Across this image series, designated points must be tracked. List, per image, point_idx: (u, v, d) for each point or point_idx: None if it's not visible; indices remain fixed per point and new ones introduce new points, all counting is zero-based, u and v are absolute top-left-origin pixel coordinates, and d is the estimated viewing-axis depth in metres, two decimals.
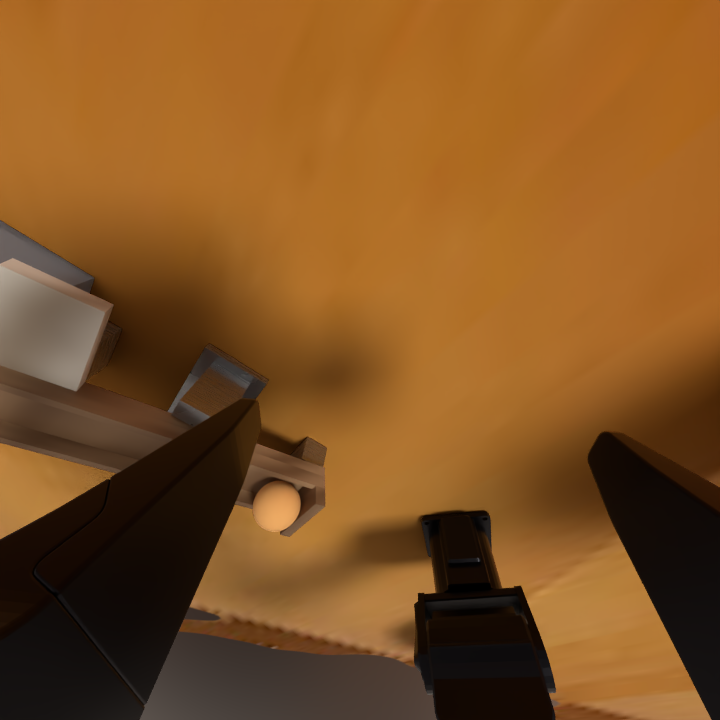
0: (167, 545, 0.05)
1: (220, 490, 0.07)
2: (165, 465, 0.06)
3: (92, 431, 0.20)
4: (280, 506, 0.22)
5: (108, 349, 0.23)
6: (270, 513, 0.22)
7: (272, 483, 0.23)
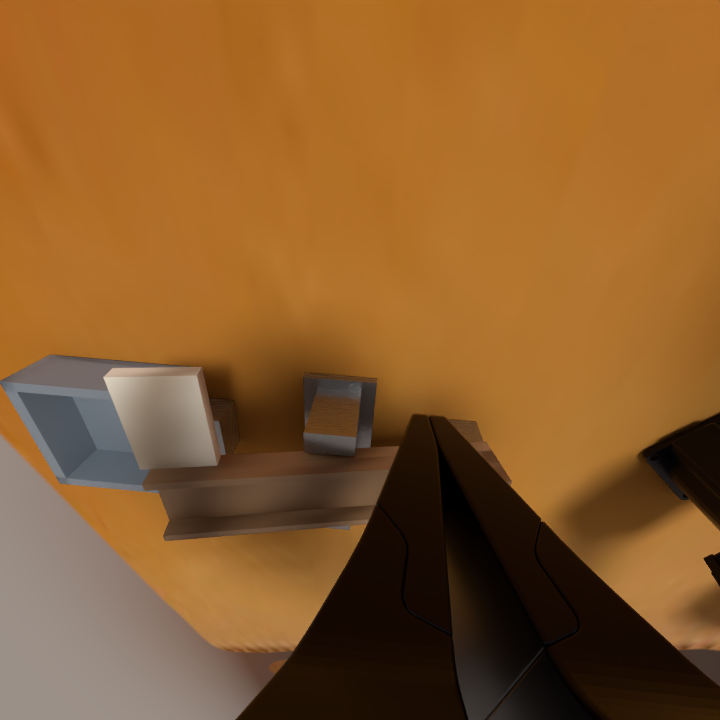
0: None
1: None
2: (417, 489, 0.06)
3: (249, 499, 0.20)
4: None
5: (232, 423, 0.24)
6: None
7: None
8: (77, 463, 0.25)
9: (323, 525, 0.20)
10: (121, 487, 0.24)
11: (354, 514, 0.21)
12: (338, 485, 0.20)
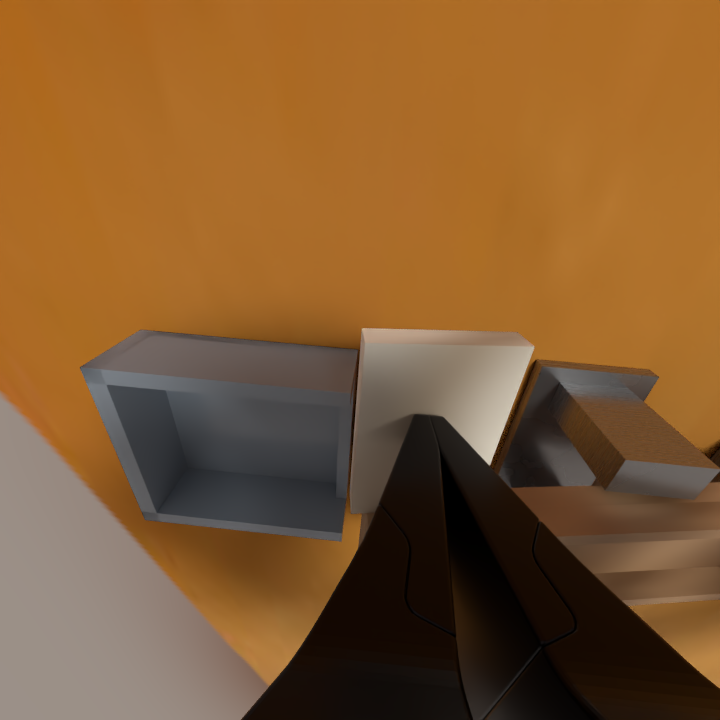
0: None
1: None
2: (419, 489, 0.06)
3: None
4: None
5: None
6: None
7: None
8: (168, 489, 0.17)
9: None
10: (236, 527, 0.17)
11: (638, 586, 0.13)
12: (629, 542, 0.12)
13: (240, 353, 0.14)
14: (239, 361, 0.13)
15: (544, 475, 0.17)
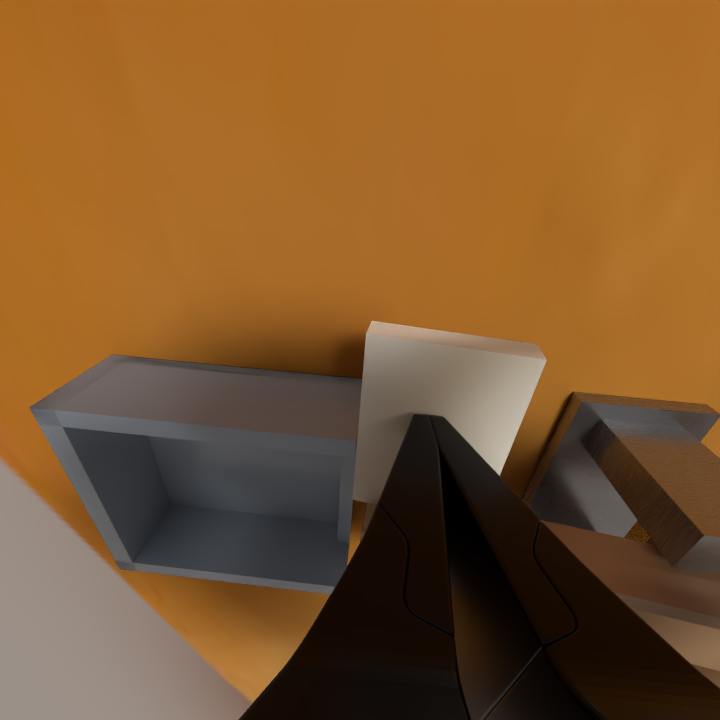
0: None
1: None
2: (418, 489, 0.06)
3: None
4: None
5: None
6: None
7: None
8: (146, 533, 0.15)
9: None
10: (224, 578, 0.15)
11: None
12: (685, 624, 0.10)
13: (225, 385, 0.12)
14: (223, 396, 0.11)
15: (576, 519, 0.15)
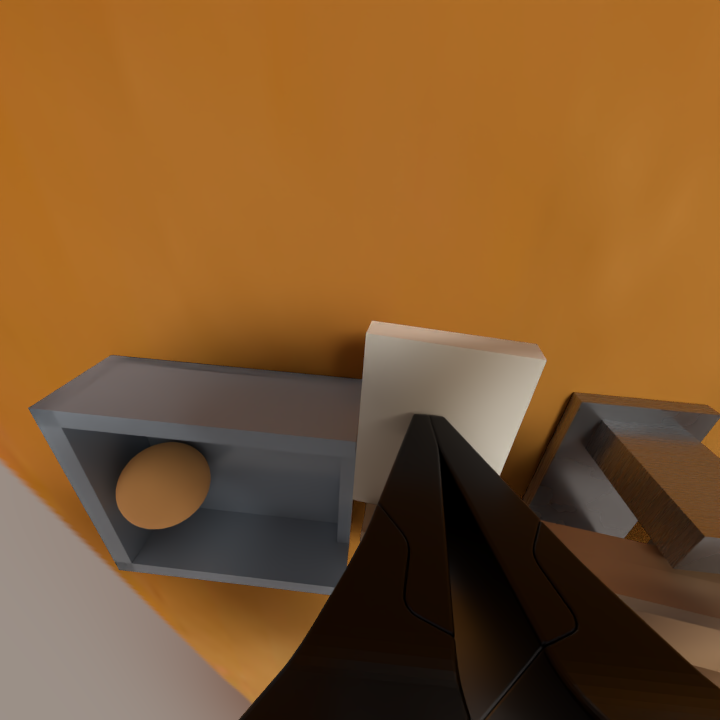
0: None
1: None
2: (418, 489, 0.06)
3: None
4: (179, 445, 0.14)
5: None
6: (195, 449, 0.14)
7: (173, 488, 0.12)
8: (146, 534, 0.15)
9: None
10: (223, 579, 0.15)
11: None
12: (685, 625, 0.10)
13: (225, 386, 0.12)
14: (223, 397, 0.11)
15: (576, 519, 0.15)
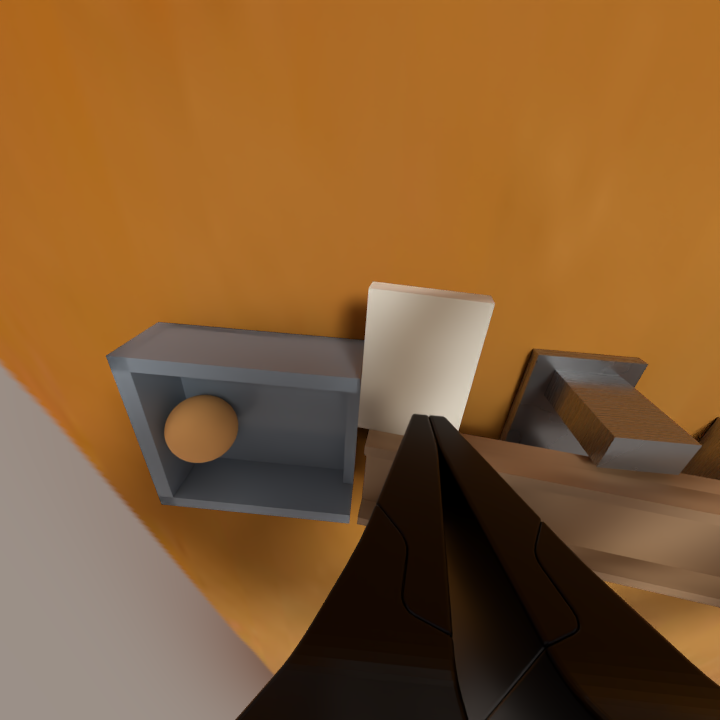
0: None
1: None
2: (417, 489, 0.06)
3: None
4: (213, 396, 0.17)
5: None
6: (225, 401, 0.17)
7: (212, 427, 0.15)
8: (183, 475, 0.18)
9: None
10: (249, 510, 0.18)
11: (623, 567, 0.14)
12: (612, 518, 0.13)
13: (254, 343, 0.15)
14: (254, 350, 0.14)
15: None
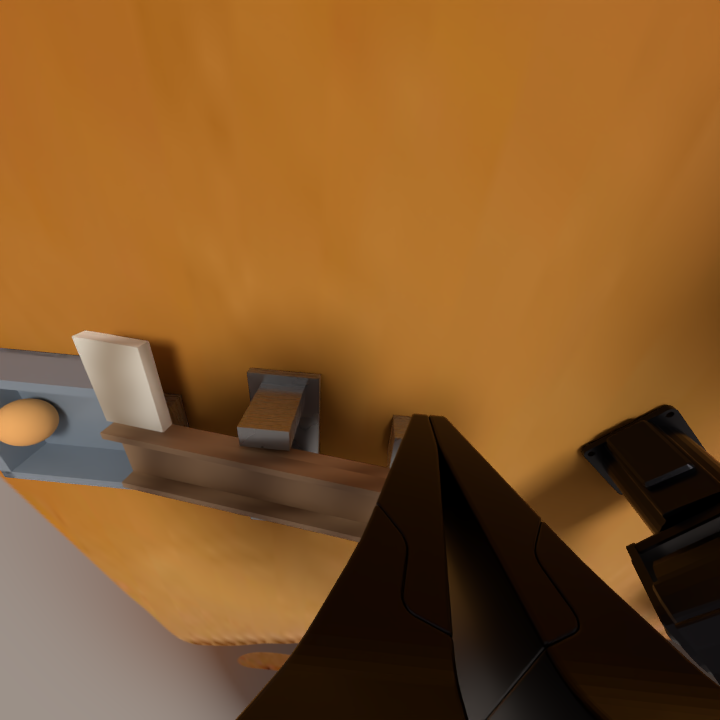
0: None
1: None
2: (417, 489, 0.06)
3: (192, 470, 0.21)
4: (35, 399, 0.23)
5: (180, 418, 0.24)
6: (47, 402, 0.24)
7: (24, 421, 0.22)
8: (23, 456, 0.25)
9: (251, 514, 0.21)
10: (67, 481, 0.24)
11: (283, 513, 0.21)
12: (269, 480, 0.20)
13: (49, 364, 0.22)
14: (44, 369, 0.21)
15: None
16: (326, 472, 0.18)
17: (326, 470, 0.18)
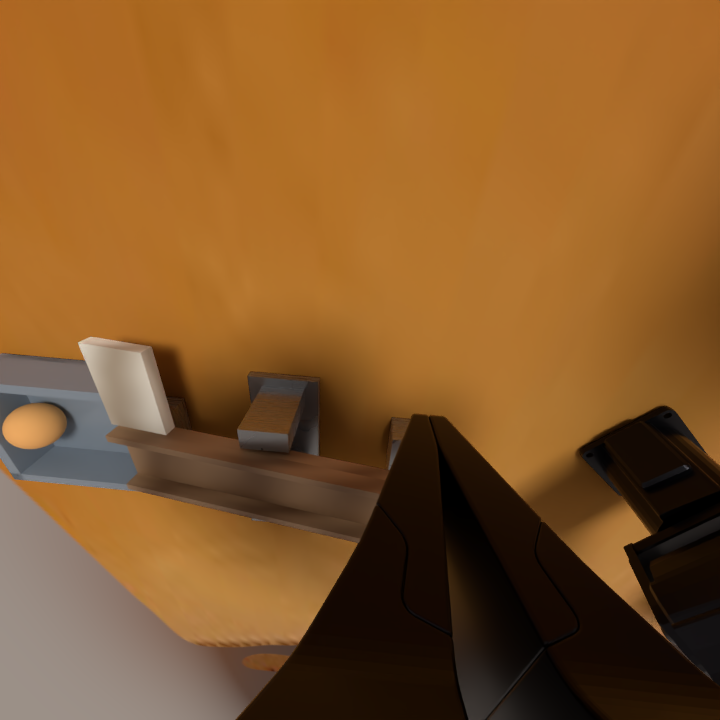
0: None
1: None
2: (417, 489, 0.06)
3: (195, 472, 0.22)
4: (43, 403, 0.24)
5: (183, 421, 0.25)
6: (55, 406, 0.25)
7: (33, 424, 0.23)
8: (32, 459, 0.26)
9: (252, 515, 0.21)
10: (74, 483, 0.25)
11: (283, 514, 0.21)
12: (269, 481, 0.21)
13: (57, 369, 0.22)
14: (51, 374, 0.22)
15: None
16: (324, 473, 0.19)
17: (324, 472, 0.19)
